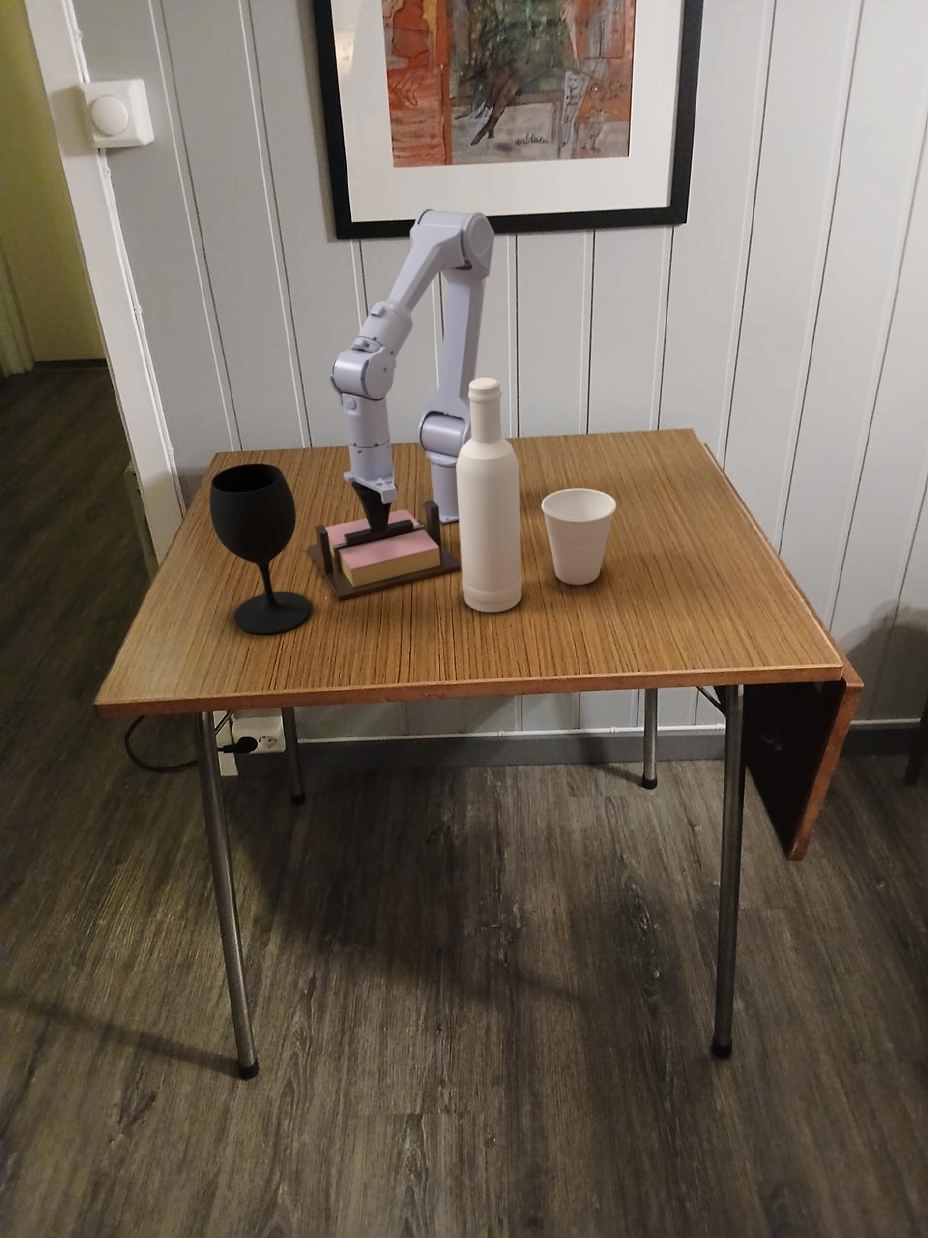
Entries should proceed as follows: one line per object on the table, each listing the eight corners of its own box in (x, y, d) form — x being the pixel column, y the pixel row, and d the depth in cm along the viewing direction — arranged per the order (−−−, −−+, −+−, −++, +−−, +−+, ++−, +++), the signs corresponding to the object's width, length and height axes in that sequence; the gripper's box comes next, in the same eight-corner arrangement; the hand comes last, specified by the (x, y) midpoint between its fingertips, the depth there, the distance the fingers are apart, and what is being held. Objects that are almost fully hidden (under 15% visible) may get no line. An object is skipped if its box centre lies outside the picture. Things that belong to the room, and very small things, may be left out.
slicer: (420, 524, 145) (416, 481, 141) (460, 569, 133) (457, 525, 129) (308, 550, 140) (301, 507, 136) (339, 601, 127) (332, 555, 123)
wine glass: (276, 643, 119) (248, 502, 108) (217, 622, 124) (185, 486, 113) (327, 605, 126) (306, 469, 116) (270, 587, 131) (244, 455, 120)
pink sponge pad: (407, 526, 143) (405, 508, 141) (440, 565, 132) (439, 547, 131) (326, 545, 139) (323, 527, 137) (353, 587, 128) (350, 568, 127)
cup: (566, 601, 124) (567, 528, 118) (528, 569, 132) (527, 499, 126) (627, 580, 128) (631, 508, 122) (586, 550, 135) (588, 481, 129)
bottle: (527, 609, 123) (524, 389, 107) (469, 617, 122) (456, 396, 106) (514, 579, 130) (509, 368, 113) (459, 586, 129) (446, 374, 112)
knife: (424, 539, 138) (422, 515, 136) (428, 544, 137) (426, 520, 135) (334, 561, 134) (330, 537, 132) (337, 566, 133) (333, 542, 131)
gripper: (325, 427, 130) (337, 514, 138) (356, 464, 119) (368, 557, 126) (373, 418, 132) (382, 504, 140) (408, 453, 121) (416, 545, 129)
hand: (378, 528), depth 133 cm, fingers closed, pressing on knife
